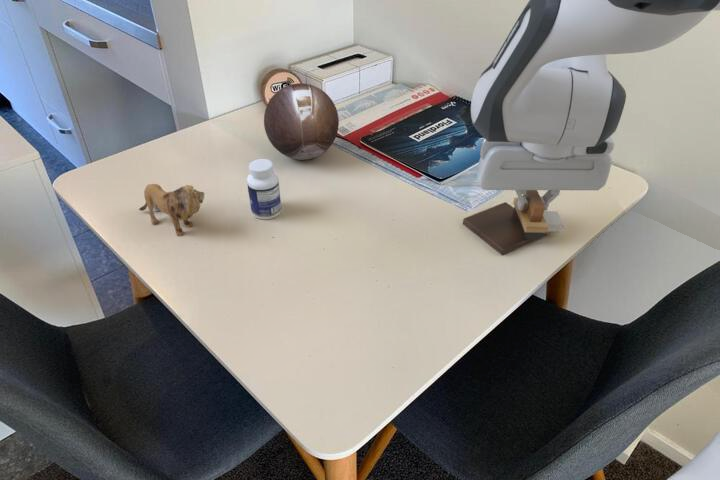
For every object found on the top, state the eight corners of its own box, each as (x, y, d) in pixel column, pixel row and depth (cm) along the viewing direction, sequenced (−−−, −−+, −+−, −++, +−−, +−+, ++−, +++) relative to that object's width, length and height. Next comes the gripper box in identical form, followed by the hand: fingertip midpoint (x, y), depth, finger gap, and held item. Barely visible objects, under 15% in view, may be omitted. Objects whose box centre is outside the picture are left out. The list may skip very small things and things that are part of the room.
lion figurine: (215, 225, 91) (206, 181, 85) (196, 243, 87) (185, 198, 81) (150, 204, 95) (137, 161, 90) (128, 220, 92) (114, 176, 86)
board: (545, 236, 89) (547, 230, 88) (502, 255, 85) (503, 250, 84) (504, 207, 96) (505, 201, 95) (462, 224, 92) (463, 218, 91)
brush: (544, 239, 86) (553, 211, 83) (522, 239, 86) (530, 211, 83) (531, 210, 93) (539, 183, 89) (511, 210, 93) (518, 182, 89)
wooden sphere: (286, 180, 102) (279, 109, 93) (256, 148, 112) (247, 80, 103) (352, 161, 108) (352, 91, 99) (318, 132, 118) (315, 66, 109)
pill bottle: (250, 205, 96) (243, 158, 90) (279, 201, 97) (274, 154, 91) (252, 222, 92) (245, 174, 85) (283, 218, 93) (278, 170, 86)
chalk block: (562, 231, 88) (564, 224, 87) (538, 231, 88) (541, 223, 87) (555, 218, 92) (557, 211, 91) (532, 217, 91) (534, 210, 90)
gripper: (487, 143, 76) (473, 219, 85) (626, 144, 77) (598, 220, 85) (479, 124, 81) (467, 197, 90) (609, 124, 82) (585, 198, 90)
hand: (531, 208), depth 88 cm, fingers closed on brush, 2 cm apart
